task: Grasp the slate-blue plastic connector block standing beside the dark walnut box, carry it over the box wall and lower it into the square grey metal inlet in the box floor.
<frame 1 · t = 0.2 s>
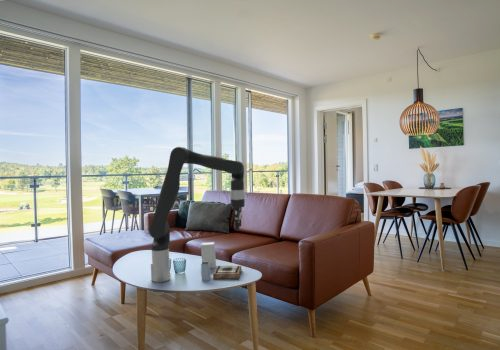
hand: (238, 228, 178), 28 cm above the table, fingers open, 8 cm apart
connector: (206, 279, 181), on the table
walnut box: (227, 274, 187), on the table
skincare box: (209, 267, 202), on the table
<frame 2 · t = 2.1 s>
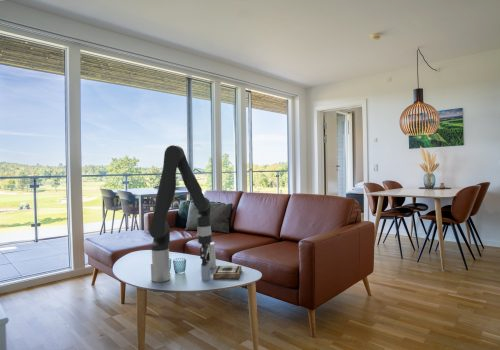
hand: (206, 263, 181), 9 cm above the table, fingers open, 8 cm apart
nothing on the table moved.
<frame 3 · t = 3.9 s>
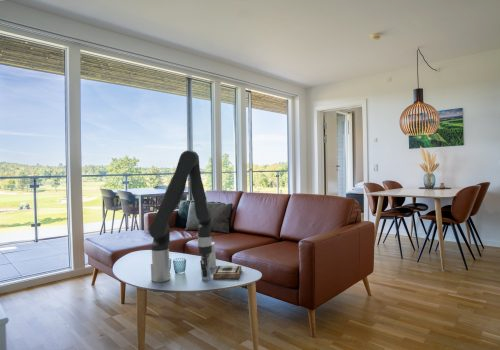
hand: (205, 275, 181), 2 cm above the table, fingers closed on connector, 4 cm apart
connector: (206, 279, 181), on the table, touching gripper
everything else where it was.
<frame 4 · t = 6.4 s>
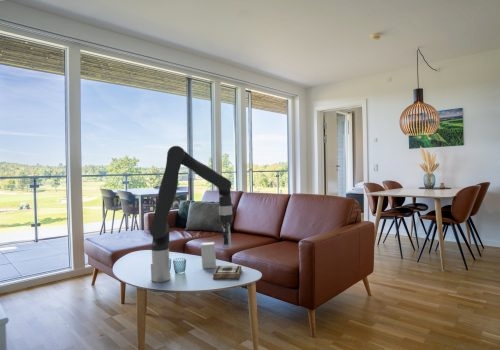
hand: (226, 243, 187), 18 cm above the table, fingers closed on connector, 4 cm apart
connector: (226, 247, 187), point 16 cm above the table, touching gripper
everything else where it was.
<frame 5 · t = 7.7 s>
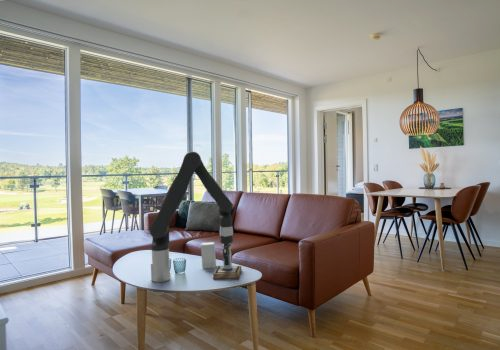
hand: (227, 263, 187), 6 cm above the table, fingers closed on connector, 4 cm apart
connector: (227, 267, 187), point 4 cm above the table, touching gripper
everything else where it was.
when the fingers open (4 cm above the table, at t = 9.0 s): connector stays where it is, resting on walnut box.
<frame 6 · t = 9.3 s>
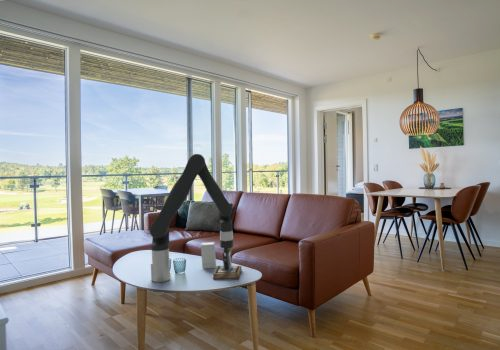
hand: (227, 267, 187), 4 cm above the table, fingers open, 6 cm apart
connector: (227, 273, 187), point 1 cm above the table, touching walnut box
everything else where it was.
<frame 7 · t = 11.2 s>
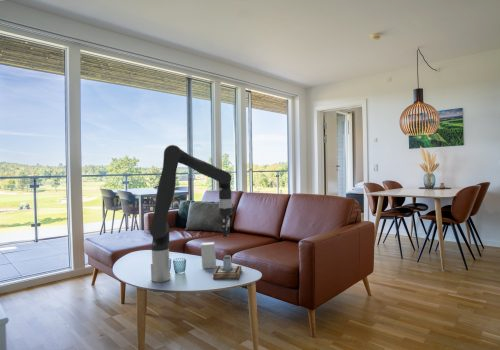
hand: (226, 235, 187), 23 cm above the table, fingers open, 8 cm apart
nothing on the table moved.
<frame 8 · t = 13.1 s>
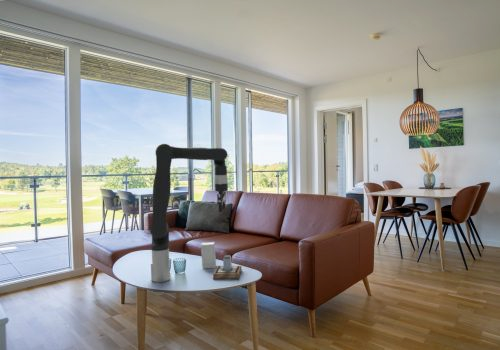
hand: (222, 210, 191), 36 cm above the table, fingers open, 8 cm apart
nothing on the table moved.
at the end: connector 0.1 cm off-centre on the walnut box, point 0.8 cm above the walnut box's base; connector tilted 0°; the gripper is holding nothing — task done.
